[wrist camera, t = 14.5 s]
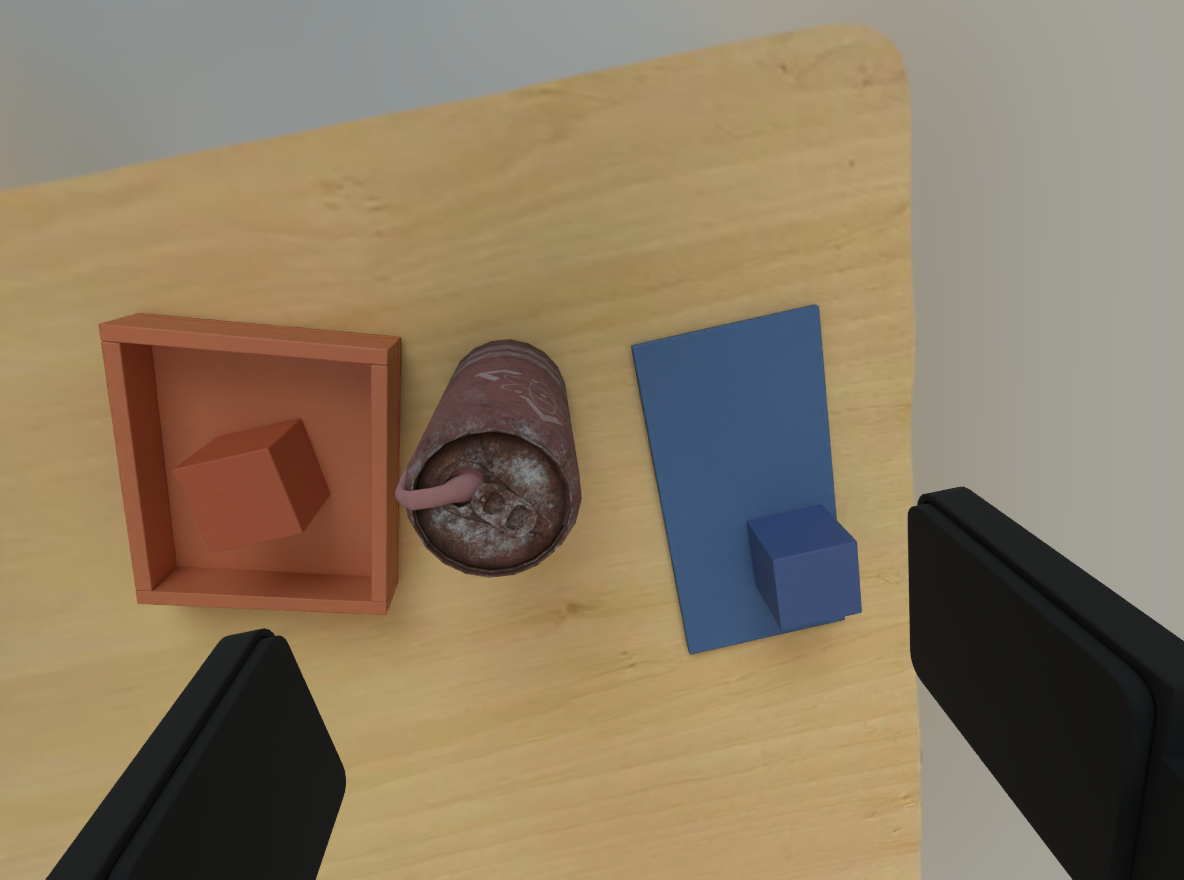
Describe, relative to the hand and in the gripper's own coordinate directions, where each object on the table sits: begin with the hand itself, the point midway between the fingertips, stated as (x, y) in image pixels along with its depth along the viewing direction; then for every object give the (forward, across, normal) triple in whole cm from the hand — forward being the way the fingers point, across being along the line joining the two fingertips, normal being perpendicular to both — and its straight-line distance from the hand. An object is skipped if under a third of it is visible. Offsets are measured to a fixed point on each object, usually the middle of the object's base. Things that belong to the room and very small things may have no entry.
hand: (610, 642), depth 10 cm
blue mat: (+26, -8, +12) cm, 29 cm away
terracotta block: (+25, +17, +4) cm, 30 cm away
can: (+26, +4, +3) cm, 26 cm away
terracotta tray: (+25, +17, +4) cm, 31 cm away
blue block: (+25, -10, +16) cm, 31 cm away
